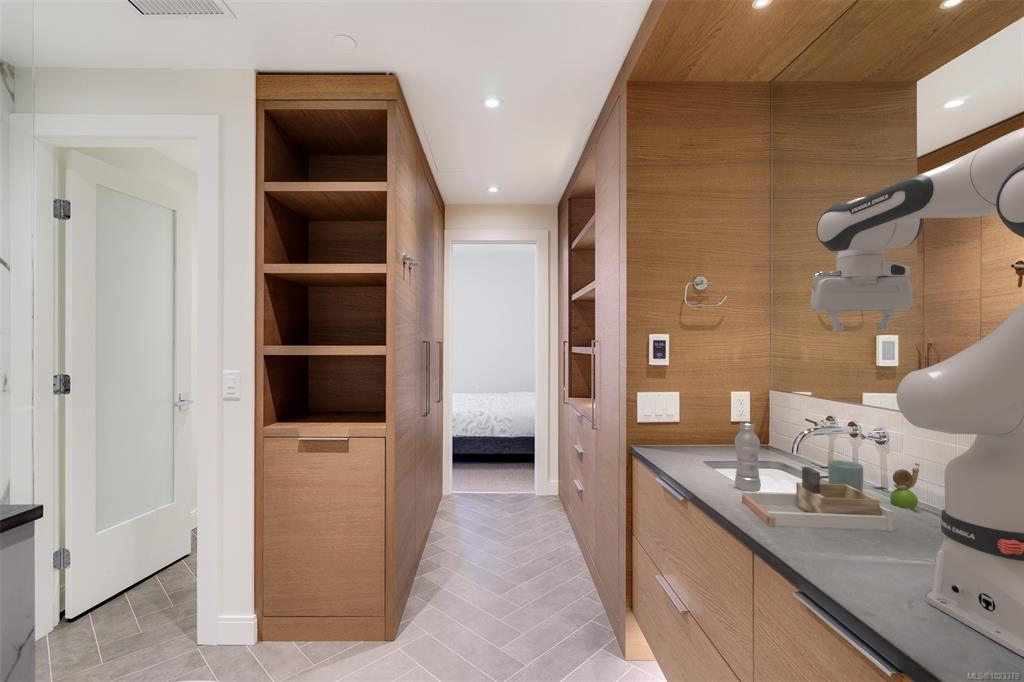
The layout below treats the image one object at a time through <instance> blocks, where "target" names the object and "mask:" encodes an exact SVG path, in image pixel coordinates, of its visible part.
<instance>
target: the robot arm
mask: <svg viewBox="0 0 1024 682" xmlns="http://www.w3.org/2000/svg"><path fill="white" fill-rule="evenodd" d="M996 214H998V217H999V219H1000V220H1001V221H1002V223H1003V224H1004V226H1005V227H1006V229H1008V230H1010V231H1011V232H1012V233H1014V234H1015V235H1017V236H1019V237H1021V238H1023V239H1024V127H1021V128H1019V129H1017V130H1013V131H1011V132H1010V133H1007V134H1005V135H1003V136H1001V137H998V138H997V139H994V140H992V141H991V142H989V143H987V144H985V145H983V146H981V147H979V148H977V149H975V150H973V151H970V152H967V153H966V154H964V155H962V156H960V157H958V158H956V159H954V160H952V161H951V160H950V161H949V162H947V163H945V164H942V165H940V166H938V167H935V168H933V169H931V170H928V171H925V172H923V173H920V174H918V175H916V176H913V177H911V178H908V179H905V180H903V181H900V182H898V183H895V184H893V185H889V186H887V187H886V188H883V189H881V190H879V191H877V192H875V193H872V194H869V195H867V196H862V197H858V198H854V199H851V200H849V201H848V202H842V203H841V202H836V203H834V204H832V206H830V207H829V208H828V209H826V211H825V212H823V213H822V215H821V216H820V218H819V219H818V221H817V223H816V229H815V230H816V231H815V233H816V237H817V239H818V240H819V242H820V244H821V245H823V247H825V248H826V249H827V250H829V251H830V252H838V253H837V255H836V270H834V271H831V270H830V271H825V270H824V271H822V270H821V271H818V273H815V274H813V276H812V278H811V288H812V289H811V295H810V304H809V305H810V308H811V309H812V311H813V312H826V315H827V318H828V319H829V321H830V322H831V324H832V331H834V332H835V331H836V332H837V331H840V332H841V331H844V330H845V327H844V326H845V322H841V321H840V319H839V318H838V316H839V315H840V312H872V311H873V312H879V311H880V315H881V317H882V316H883V317H882V319H881V320H880V322H877V323H876V325H875V326H876V328H875V329H876V331H878V332H880V331H882V332H883V331H888V330H889V323H890V322H891V320H892V319H893V318H894V316H895V311H896V312H897V311H908V310H910V309H911V307H913V304H914V292H913V285H912V282H911V280H910V279H909V278H907V277H908V276H910V273H911V271H910V270H911V269H910V267H909V266H907V265H904V264H899V263H895V262H892V261H890V260H888V259H887V260H886V259H885V253H884V252H885V250H894V249H895V250H896V249H900V248H904V247H908V246H910V245H911V244H912V243H914V242H915V241H916V240H917V239H918V238H919V236H920V235H921V233H922V231H923V227H924V219H948V218H949V219H955V218H956V219H963V218H964V219H965V218H967V219H968V218H978V217H979V218H980V217H984V216H990V215H996ZM896 404H897V406H898V409H899V411H900V413H901V414H902V416H903V417H904V419H906V420H907V422H909V423H910V424H911V425H913V426H915V427H916V428H919V429H926V430H929V431H934V432H939V433H944V434H952V435H976V436H975V439H974V441H973V443H972V444H971V446H970V447H969V448H968V449H967V450H966V451H964V452H963V453H961V454H960V455H958V456H956V457H954V458H952V459H951V460H950V461H948V463H947V465H946V466H945V469H944V509H942V510H941V517H940V525H941V526H940V529H941V533H942V534H943V539H942V542H941V545H940V547H939V549H938V550H937V554H936V558H935V565H934V566H935V567H934V574H933V582H932V588H931V591H929V592H928V593H927V594H926V598H925V599H926V602H927V603H928V604H929V605H931V606H933V607H935V608H936V609H938V610H940V611H942V613H943V612H944V613H945V614H947V615H948V616H950V617H953V618H954V619H956V620H957V621H959V622H961V623H962V624H964V625H965V626H966V625H967V626H968V627H970V628H971V629H973V630H976V631H977V632H979V633H980V634H982V635H984V636H986V637H988V638H989V639H991V640H993V641H995V642H996V643H998V644H1000V645H1002V646H1003V647H1005V648H1007V649H1009V650H1010V651H1011V652H1014V653H1016V654H1018V655H1020V656H1021V657H1023V658H1024V301H1023V302H1022V303H1021V304H1020V305H1019V306H1018V307H1017V308H1016V309H1015V310H1014V311H1013V312H1012V313H1011V314H1010V315H1009V316H1008V317H1007V318H1006V319H1005V320H1004V321H1003V322H1002V323H1001V324H1000V325H999V326H998V327H997V328H996V329H995V330H993V331H992V332H991V333H989V334H988V335H986V336H985V337H983V338H982V339H979V340H978V341H977V342H975V343H973V344H972V345H970V346H968V347H967V348H964V349H963V350H961V351H959V352H958V353H956V354H953V356H950V357H949V358H946V359H945V360H942V361H940V362H937V363H936V364H933V365H930V366H928V367H925V368H922V369H918V370H914V371H911V372H909V373H908V374H906V375H905V376H904V377H903V379H902V380H901V381H900V383H899V385H898V387H897V390H896Z"/></svg>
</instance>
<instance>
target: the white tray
mask: <svg viewBox="0 0 1024 682" xmlns="http://www.w3.org/2000/svg"><path fill="white" fill-rule="evenodd" d="M741 491H742V495H741V498H742V499H741V502H742V503H743V504H744V505H745V506H747V508H748V509H750V510H751V511H752V512H753V513H755V515H757V516H758V517H759V518H760V519H761V520H762V521H764V523H766V525H768V526H769V527H795V528H815V529H816V528H820V529H839V530H846V529H847V530H861V531H862V530H865V531H866V530H868V531H886V532H894V511H893V510H891V509H889V508H887V507H885V506H883V505H881V504H880V516H877V515H851V514H826V513H806V512H795V511H794V512H793V511H772V510H771V511H769V510H766V509H765V508H764V507H762V506H761V505H771V506H791V507H792V506H794V507H795V506H796V492H777V491H776V492H775V491H774V492H773V491H769V492H768V491H756V492H750V491H743V490H741ZM796 507H797V506H796Z"/></svg>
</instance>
